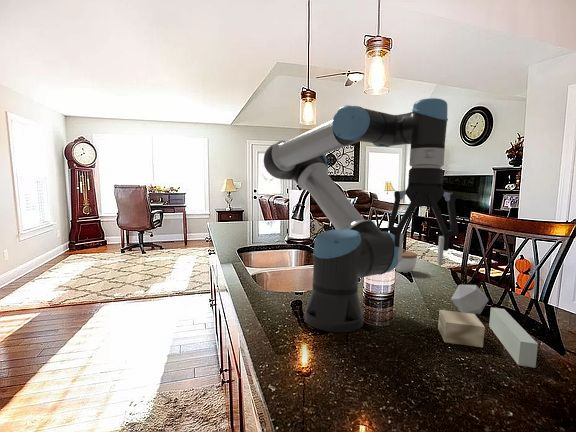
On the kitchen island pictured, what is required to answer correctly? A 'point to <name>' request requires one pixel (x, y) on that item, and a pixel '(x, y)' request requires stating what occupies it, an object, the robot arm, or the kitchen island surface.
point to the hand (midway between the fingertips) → (419, 261)
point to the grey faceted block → (469, 299)
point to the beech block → (461, 328)
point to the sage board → (513, 337)
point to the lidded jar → (406, 262)
